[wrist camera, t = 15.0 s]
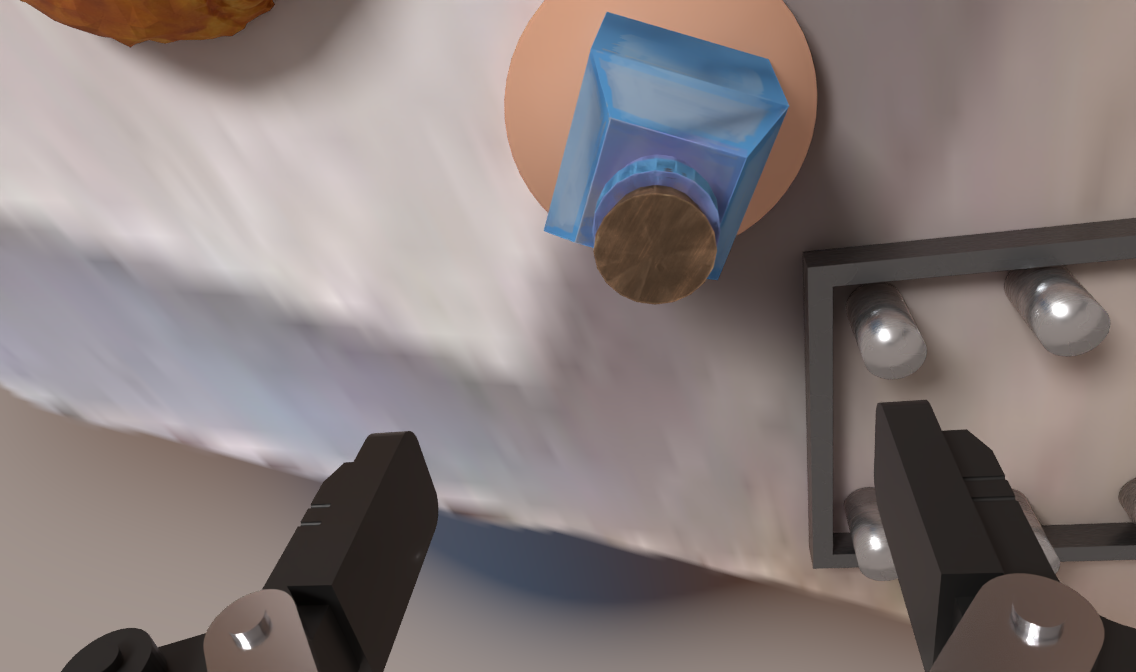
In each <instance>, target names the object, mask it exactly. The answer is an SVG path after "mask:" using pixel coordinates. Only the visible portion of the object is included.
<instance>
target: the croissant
mask: <svg viewBox="0 0 1136 672" xmlns="http://www.w3.org/2000/svg"><path fill="white" fill-rule="evenodd" d="M20 1H22V2H26V3H28V4H29V5H31V6H32V7H34V8H36V9H37V10H39V11H40V12H42V13H43V14H45V15H47V16H48V17H50V18H51V19H53V20H55V21H57V22H59V23H62V24H64V25H67V26H69V27H73V28H76V29H79V30H82V31H85V32H89V33H92V34H95V35H98V36H103V37H110V38H113V39H115V40H117V41H119V42H121V43H123V44H125V45H127V46H129V47H132V46H133V45H135V44H137V43H141V42H144V41H147V40H151V41H156V42H160V43H164V44H166V43H170V42H174V41H178V40H204V39H213V38H217V37H221V36H233V35H234V34H236V33H237V32H239V31H241V30H242V29H244V28H245V26H246V24H247V23H248V22H250V21H251V20H253V19H255V18H256V17H258V16H259V15H261V14H263V13H266V12H268V11H270V10H271V9H272V7H273V6H274V5H275V4H274V2H273V1H272V0H20Z"/></svg>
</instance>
